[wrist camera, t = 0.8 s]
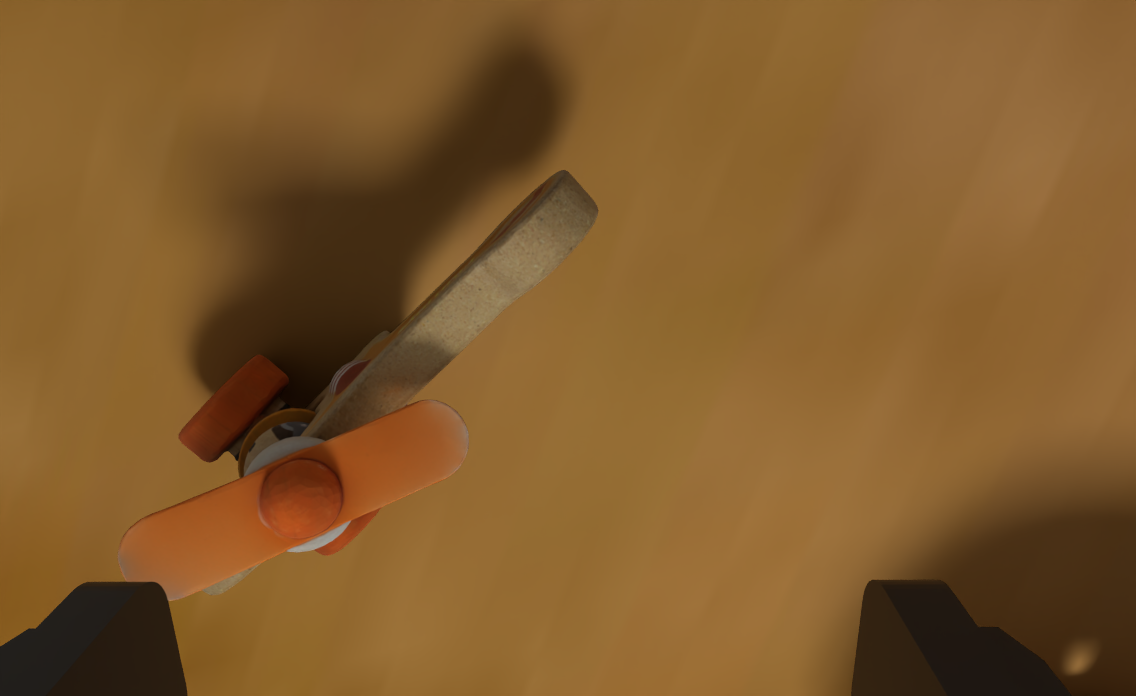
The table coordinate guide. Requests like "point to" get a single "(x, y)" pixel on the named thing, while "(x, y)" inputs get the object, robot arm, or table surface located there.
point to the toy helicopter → (346, 421)
